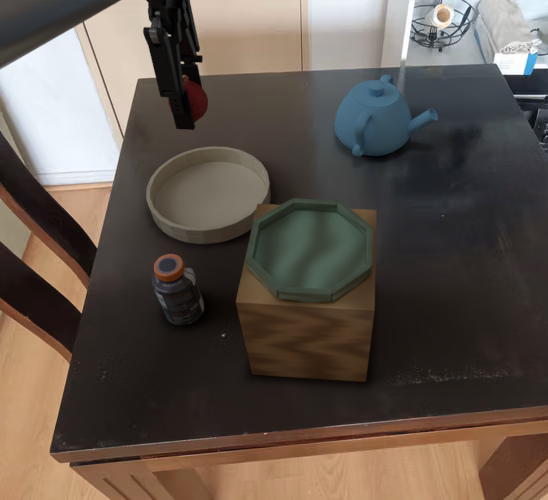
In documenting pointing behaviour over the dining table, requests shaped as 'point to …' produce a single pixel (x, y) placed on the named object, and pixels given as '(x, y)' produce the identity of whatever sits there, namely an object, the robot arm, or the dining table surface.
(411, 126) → the teapot
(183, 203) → the cream bowl
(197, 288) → the pill bottle
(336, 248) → the stand
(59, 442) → the dining table surface
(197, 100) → the onion
